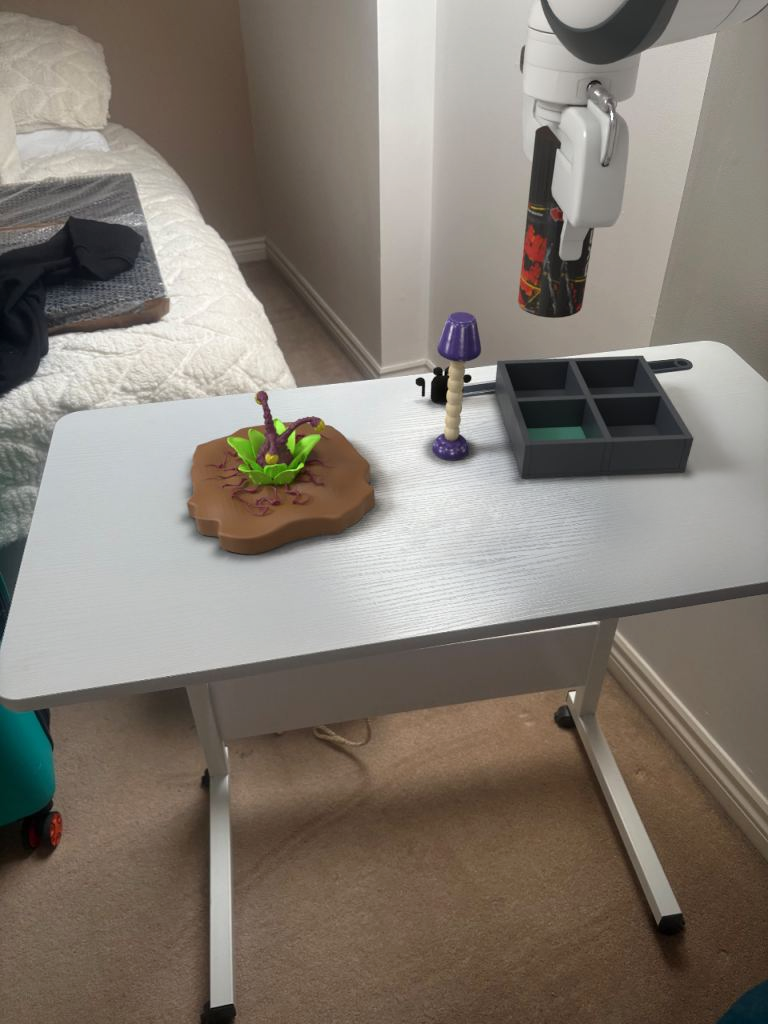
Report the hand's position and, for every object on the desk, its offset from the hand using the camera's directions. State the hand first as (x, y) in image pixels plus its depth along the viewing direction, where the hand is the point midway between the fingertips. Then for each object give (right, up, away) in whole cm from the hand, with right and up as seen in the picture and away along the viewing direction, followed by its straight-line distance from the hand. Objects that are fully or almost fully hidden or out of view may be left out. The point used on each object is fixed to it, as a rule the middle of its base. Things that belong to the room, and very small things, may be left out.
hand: (558, 241), depth 74 cm
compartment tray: (+8, -14, +25) cm, 30 cm away
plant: (-27, -22, +17) cm, 39 cm away
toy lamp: (-8, -17, +23) cm, 29 cm away
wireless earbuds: (-8, -11, +30) cm, 33 cm away
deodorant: (0, -5, +4) cm, 6 cm away
